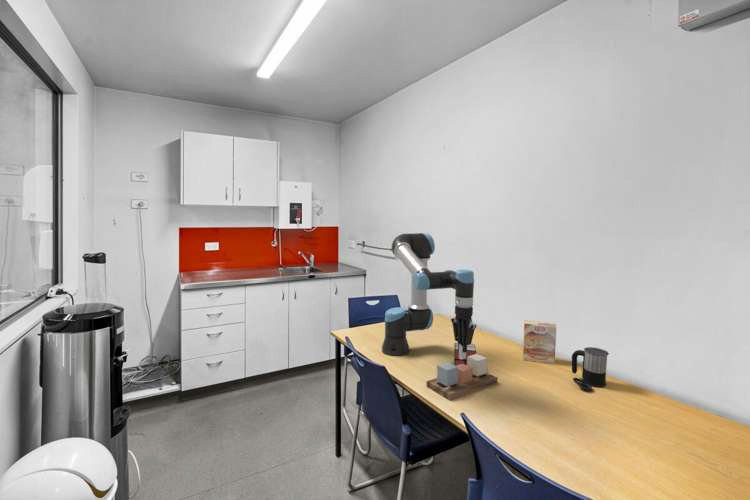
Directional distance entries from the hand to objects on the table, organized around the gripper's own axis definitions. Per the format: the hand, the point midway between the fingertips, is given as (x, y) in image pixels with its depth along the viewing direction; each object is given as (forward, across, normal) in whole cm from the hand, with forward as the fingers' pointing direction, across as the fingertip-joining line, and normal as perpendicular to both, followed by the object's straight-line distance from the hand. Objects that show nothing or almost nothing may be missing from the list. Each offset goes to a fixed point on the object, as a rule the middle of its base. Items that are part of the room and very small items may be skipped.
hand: (462, 358), depth 159 cm
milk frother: (+12, +31, +47) cm, 57 cm away
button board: (+12, +1, 0) cm, 12 cm away
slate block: (+8, +1, -9) cm, 12 cm away
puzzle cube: (+12, -13, +16) cm, 24 cm away
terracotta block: (+11, +1, 0) cm, 11 cm away
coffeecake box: (+12, +2, +54) cm, 55 cm away
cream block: (+8, +1, +9) cm, 12 cm away
